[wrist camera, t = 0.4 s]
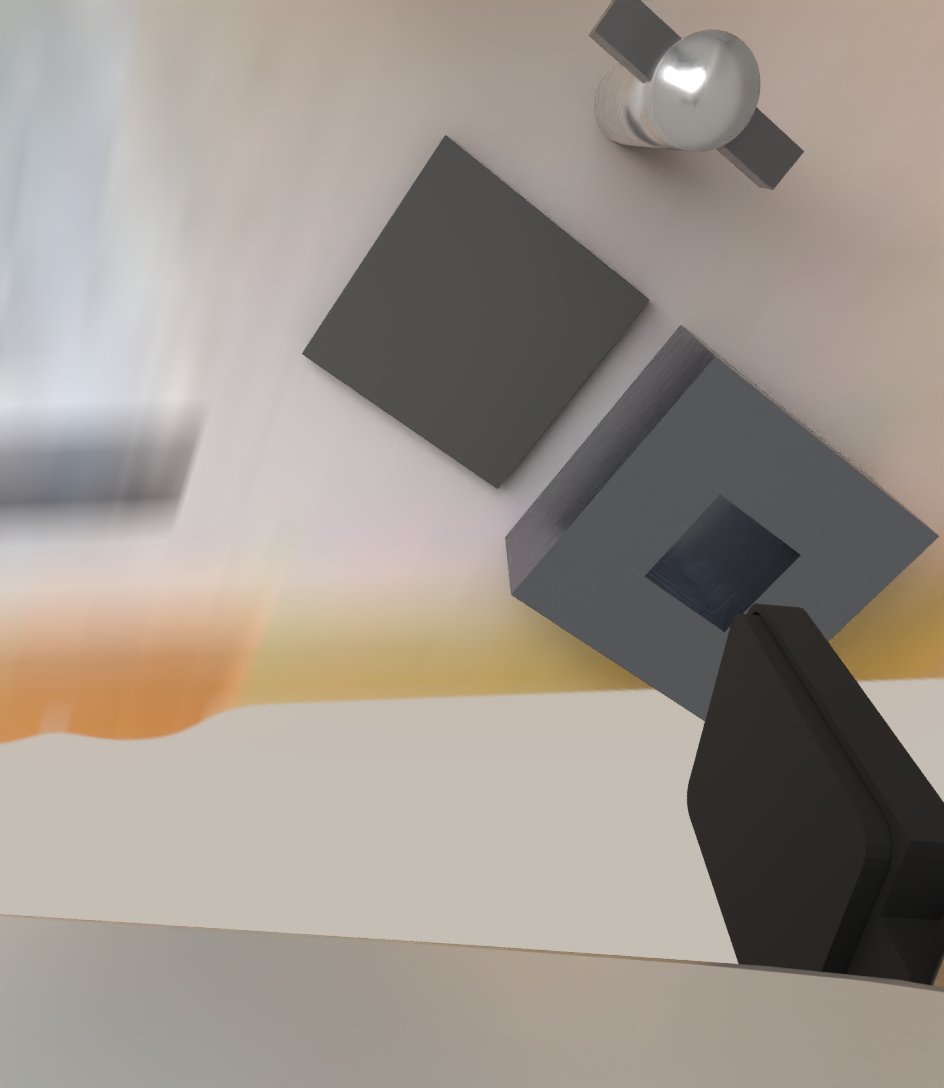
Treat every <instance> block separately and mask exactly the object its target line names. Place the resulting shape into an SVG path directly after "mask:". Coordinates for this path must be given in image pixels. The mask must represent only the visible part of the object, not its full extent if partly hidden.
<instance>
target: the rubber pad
mask: <svg viewBox="0 0 944 1088" xmlns="http://www.w3.org/2000/svg"><path fill="white" fill-rule="evenodd" d="M648 301H649V299H647V298H646V297H645V296H644V295H643V294H642V293H640V292H639V291H638V290H637V289H635V288H634V287H633V286H632V285H630V284H629V283H628V282H627V281H626V280H624V279H623V278H622V277H621V276H619V275H618V274H617V273H616V272H614V271H613V270H612V269H611V268H609V267H608V266H607V265H606V264H604V263H603V262H602V261H601V260H600V259H598V258H597V257H596V256H595V255H593V254H592V253H591V252H590V251H588V250H587V249H586V248H585V247H583V246H582V245H581V244H580V243H578V242H577V241H576V240H575V239H573V238H572V237H571V236H570V235H569V234H567V233H566V232H565V231H564V230H562V229H561V228H560V227H559V226H557V225H556V224H555V223H554V222H552V221H551V220H550V219H549V218H547V217H546V216H545V215H544V214H542V213H541V212H540V211H539V210H538V209H536V208H535V207H534V206H533V205H531V204H530V203H529V202H528V201H526V200H525V199H524V198H523V197H521V196H520V195H519V194H518V193H516V192H515V191H514V190H513V189H512V188H510V187H509V186H508V185H507V184H505V183H504V182H503V181H502V180H500V179H499V178H498V177H497V176H495V175H494V174H493V173H492V172H490V171H489V170H488V169H487V168H485V167H484V166H483V165H482V164H481V163H479V162H478V161H477V160H476V159H474V158H473V157H472V156H471V155H469V154H468V153H467V152H466V151H464V150H463V149H462V148H461V147H459V146H458V145H457V144H456V143H454V142H453V141H452V140H451V139H450V138H448V137H447V136H446V135H445V136H444V138H443V139H442V141H441V142H440V144H439V145H438V147H437V149H436V150H435V152H434V153H433V155H432V156H431V158H430V159H429V161H428V162H427V164H426V165H425V167H424V168H423V170H422V171H421V173H420V174H419V176H418V177H417V179H416V181H415V182H414V184H413V185H412V187H411V188H410V190H409V191H408V193H407V194H406V196H405V197H404V199H403V200H402V202H401V203H400V205H399V206H398V208H397V209H396V211H395V213H394V214H393V216H392V217H391V219H390V220H389V222H388V223H387V225H386V226H385V228H384V229H383V231H382V232H381V234H380V235H379V237H378V238H377V240H376V241H375V243H374V245H373V246H372V248H371V249H370V251H369V252H368V254H367V255H366V257H365V258H364V260H363V261H362V263H361V264H360V266H359V267H358V269H357V270H356V272H355V274H354V275H353V277H352V278H351V280H350V281H349V283H348V284H347V286H346V287H345V289H344V290H343V292H342V293H341V295H340V296H339V298H338V299H337V301H336V302H335V304H334V306H333V307H332V309H331V310H330V312H329V313H328V315H327V316H326V318H325V319H324V321H323V322H322V324H321V325H320V327H319V328H318V330H317V331H316V333H315V334H314V336H313V338H312V339H311V341H310V342H309V344H308V345H307V347H306V348H305V350H304V351H303V353H302V354H303V355H304V356H306V357H307V358H309V359H310V360H311V361H313V362H314V363H316V364H317V365H319V366H320V367H322V368H323V369H325V370H326V371H327V372H329V373H330V374H332V375H333V376H335V377H336V378H338V379H339V380H340V381H342V382H343V383H345V384H346V385H348V386H349V387H351V388H352V389H354V390H355V391H356V392H358V393H359V394H361V395H362V396H364V397H365V398H367V399H368V400H369V401H371V402H372V403H374V404H375V405H377V406H378V407H380V408H381V409H383V410H384V411H385V412H387V413H388V414H390V415H391V416H393V417H394V418H396V419H397V420H398V421H400V422H401V423H403V424H404V425H406V426H407V427H409V428H410V429H411V430H413V431H414V432H416V433H417V434H419V435H420V436H422V437H423V438H425V439H426V440H427V441H429V442H430V443H432V444H433V445H435V446H436V447H438V448H439V449H440V450H442V451H443V452H445V453H446V454H448V455H449V456H451V457H452V458H454V459H455V460H456V461H458V462H459V463H461V464H462V465H464V466H465V467H467V468H468V469H469V470H471V471H472V472H474V473H475V474H477V475H478V476H480V477H481V478H482V479H484V480H485V481H487V482H488V483H490V484H491V485H493V486H494V487H496V488H497V489H498V488H499V487H500V485H501V484H502V483H503V482H504V480H505V479H506V478H507V477H508V475H509V474H510V473H511V472H512V471H513V469H514V468H515V467H516V466H517V464H518V463H519V462H520V461H521V459H522V458H523V457H524V456H525V454H526V453H527V452H528V451H529V449H530V448H531V447H532V446H533V444H534V443H535V442H536V441H537V439H538V438H539V437H540V436H541V434H542V433H543V432H544V431H545V429H546V428H547V427H548V426H549V424H550V423H551V422H552V421H553V419H554V418H555V417H556V416H557V415H558V413H559V412H560V411H561V410H562V408H563V407H564V406H565V405H566V403H567V402H568V401H569V400H570V398H571V397H572V396H573V395H574V393H575V392H576V391H577V390H578V388H579V387H580V386H581V385H582V383H583V382H584V381H585V380H586V378H587V377H588V376H589V375H590V373H591V372H592V371H593V370H594V368H595V367H596V366H597V365H598V363H599V362H600V361H601V360H602V359H603V357H604V356H605V355H606V354H607V352H608V351H609V350H610V349H611V347H612V346H613V345H614V344H615V342H616V341H617V340H618V339H619V337H620V336H621V335H622V334H623V332H624V331H625V330H626V329H627V327H628V326H629V325H630V324H631V322H632V321H633V320H634V319H635V317H636V316H637V315H638V314H639V312H640V311H641V310H642V309H643V307H644V306H645V305H646V304H647V303H648Z"/></svg>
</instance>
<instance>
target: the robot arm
mask: <svg viewBox="0 0 944 1088" xmlns="http://www.w3.org/2000/svg"><path fill="white" fill-rule="evenodd" d="M687 806H688V812H689V816H690V819H691V822H692V825H693V828H694V831H695V834H696V837H697V840H698V843H699V846H700V849H701V852H702V855H703V858H704V861H705V864H706V867H707V870H708V873H709V876H710V879H711V882H712V885H713V888H714V891H715V894H716V897H717V900H718V903H719V906H720V909H721V912H722V915H723V918H724V921H725V924H726V927H727V930H728V933H729V936H730V939H731V942H732V945H733V948H734V951H735V954H736V957H737V960H738V963H739V964H730V963H715V962H701V961H688V960H674V959H660V958H645V957H631V956H617V955H603V954H589V953H574V952H561V951H546V950H533V949H518V948H505V947H489V946H475V945H459V944H445V943H429V942H414V941H399V940H384V939H368V938H354V937H353V938H352V937H337V936H323V935H308V934H293V933H277V932H262V931H247V930H231V929H217V928H201V927H186V926H169V925H155V924H140V923H125V922H124V923H123V922H110V921H93V920H78V919H63V918H47V917H33V916H17V915H2V914H0V1088H944V802H943V801H942V800H941V798H940V797H939V795H938V794H937V793H936V791H935V790H934V788H933V787H932V786H931V784H930V783H929V782H928V780H927V779H926V777H925V776H924V774H923V773H922V772H921V770H920V769H919V767H918V766H917V765H916V763H915V762H914V761H913V759H912V758H911V757H910V755H909V754H908V752H907V751H906V749H905V748H904V747H903V745H902V744H901V743H900V741H899V740H898V739H897V737H896V736H895V734H894V733H893V731H892V730H891V729H890V727H889V726H888V725H887V723H886V722H885V721H884V719H883V718H882V716H881V715H880V713H879V712H878V711H877V709H876V708H875V706H874V705H873V704H872V702H871V701H870V699H869V698H868V697H867V695H866V694H865V693H864V691H863V690H862V689H861V687H860V686H859V684H858V683H857V681H856V680H855V679H854V677H853V676H852V674H851V673H850V672H849V670H848V669H847V668H846V666H845V665H844V663H843V662H842V661H841V659H840V658H839V656H838V655H837V654H836V652H835V651H834V650H833V648H832V647H831V645H830V644H829V643H828V641H827V640H826V638H825V637H824V636H823V634H822V633H821V631H820V630H819V629H818V627H817V626H816V625H815V623H814V622H813V620H812V619H811V618H810V616H809V615H808V613H807V612H806V611H805V610H804V609H803V608H801V607H790V606H779V605H768V604H756V603H755V604H754V605H752V606H751V607H750V609H749V610H748V612H747V614H739V613H738V614H737V615H735V617H734V618H733V620H732V623H731V626H730V630H729V633H728V637H727V641H726V645H725V648H724V652H723V656H722V660H721V663H720V667H719V671H718V675H717V678H716V682H715V686H714V690H713V694H712V697H711V701H710V705H709V709H708V712H707V716H706V720H705V724H704V727H703V731H702V735H701V739H700V742H699V747H698V750H697V754H696V758H695V761H694V765H693V769H692V773H691V776H690V780H689V784H688V791H687Z"/></svg>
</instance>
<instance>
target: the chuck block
mask: <svg viewBox="0 0 944 1088" xmlns="http://www.w3.org/2000/svg"><path fill="white" fill-rule="evenodd" d="M938 537H939V536H938V535H937V534H936V533H935V532H934V531H932V530H931V529H930V528H929V527H928V526H927V525H925V524H924V523H923V522H922V521H921V520H920V519H918V518H917V517H916V516H915V515H914V514H913V513H911V512H910V511H909V510H908V509H907V508H905V507H904V506H903V505H902V504H901V503H900V502H898V501H897V500H896V499H895V498H894V497H893V496H891V495H890V494H889V493H888V492H887V491H885V490H884V489H883V488H882V487H881V486H880V485H878V484H877V483H876V482H875V481H873V480H872V479H871V478H870V477H868V476H867V475H866V474H865V473H864V472H862V471H861V470H860V469H859V468H857V467H856V466H855V465H854V464H852V463H851V462H850V461H849V460H847V459H846V458H845V457H844V456H842V455H841V454H840V453H839V452H837V451H836V450H835V449H834V448H833V447H831V446H830V445H829V444H828V443H826V442H825V441H824V440H823V439H821V438H820V437H819V436H818V435H816V434H815V433H814V432H813V431H811V430H810V429H809V428H808V427H807V426H805V425H804V424H803V423H802V422H800V421H799V420H798V419H797V418H795V417H794V416H793V415H792V414H790V413H789V412H788V411H787V410H785V409H784V408H783V407H782V406H780V405H779V404H778V403H777V402H776V401H774V400H773V399H772V398H771V397H769V396H768V395H767V394H766V393H764V392H763V391H762V390H761V389H759V388H758V387H757V386H756V385H754V384H753V383H752V382H751V381H749V380H748V379H747V378H746V377H745V376H743V375H742V374H741V373H740V372H738V371H737V370H736V369H735V368H733V367H732V366H731V365H730V364H728V363H727V362H726V361H725V360H723V359H722V358H721V357H720V356H719V355H717V354H716V353H715V352H714V351H712V350H711V349H710V348H709V347H707V346H706V345H705V344H704V343H702V342H701V341H700V340H699V339H697V338H696V337H695V336H694V335H692V334H691V333H690V332H689V331H688V330H686V329H685V328H684V327H683V326H680V327H679V328H678V330H677V331H676V332H675V333H674V334H673V336H672V337H671V338H670V339H669V340H668V342H667V343H666V344H665V345H664V346H663V348H662V349H661V350H660V351H659V352H658V354H657V355H656V356H655V357H654V358H653V360H652V361H651V362H650V363H649V365H648V366H647V367H646V368H645V369H644V371H643V372H642V373H641V374H640V375H639V377H638V378H637V379H636V380H635V381H634V383H633V384H632V385H631V386H630V387H629V389H628V390H627V391H626V392H625V393H624V395H623V396H622V397H621V398H620V400H619V401H618V402H617V403H616V404H615V406H614V407H613V408H612V409H611V410H610V412H609V413H608V414H607V415H606V416H605V418H604V419H603V420H602V421H601V422H600V424H599V425H598V426H597V427H596V428H595V430H594V431H593V432H592V433H591V435H590V436H589V437H588V438H587V439H586V441H585V442H584V443H583V444H582V445H581V447H580V448H579V449H578V450H577V451H576V453H575V454H574V455H573V456H572V457H571V459H570V460H569V461H568V462H567V463H566V465H565V466H564V467H563V468H562V470H561V471H560V472H559V473H558V474H557V476H556V477H555V478H554V479H553V480H552V482H551V483H550V484H549V485H548V486H547V488H546V489H545V490H544V491H543V492H542V494H541V495H540V496H539V497H538V499H537V500H536V501H535V502H534V503H533V505H532V506H531V507H530V508H529V509H528V511H527V512H526V513H525V514H524V515H523V517H522V518H521V519H520V520H519V521H518V523H517V524H516V525H515V526H514V527H513V529H512V530H511V531H510V532H509V534H508V535H507V536H506V537H505V539H506V549H507V559H508V569H509V578H510V588H511V595H512V596H514V597H515V598H517V599H519V600H520V601H522V602H523V603H525V604H526V605H528V606H529V607H531V608H532V609H534V610H535V611H537V612H538V613H540V614H541V615H543V616H545V617H546V618H548V619H549V620H551V621H552V622H554V623H555V624H557V625H558V626H560V627H561V628H563V629H564V630H566V631H567V632H569V633H571V634H572V635H574V636H575V637H577V638H578V639H580V640H581V641H583V642H584V643H586V644H587V645H589V646H590V647H592V648H593V649H595V650H597V651H598V652H600V653H601V654H603V655H604V656H606V657H607V658H609V659H610V660H612V661H613V662H615V663H616V664H618V665H619V666H621V667H623V668H624V669H626V670H627V671H629V672H630V673H632V674H633V675H635V676H636V677H638V678H639V679H641V680H642V681H644V682H645V683H647V684H649V685H650V686H652V687H653V688H655V689H656V690H658V691H659V692H661V693H662V694H664V695H665V696H667V697H668V698H670V699H671V700H673V701H675V702H676V703H678V704H679V705H681V706H682V707H684V708H685V709H687V710H688V711H690V712H691V713H693V714H695V715H696V716H698V717H699V718H701V719H702V720H704V721H705V720H706V716H707V712H708V709H709V705H710V701H711V697H712V694H713V690H714V686H715V682H716V678H717V675H718V671H719V667H720V663H721V660H722V656H723V652H724V648H725V645H726V641H727V637H728V633H729V630H730V626H731V623H732V620H733V618H734V617H735V615H737V614H738V613H739V614H747V612H748V610H749V609H750V607H751V606H752V605H754V604H755V603H756V604H768V605H779V606H790V607H801V608H803V609H804V610H805V611H806V612H807V613H808V615H809V616H810V618H811V619H812V620H813V622H814V623H815V625H816V626H817V627H818V629H819V630H820V631H821V633H822V634H823V636H824V637H825V638H826V640H827V641H829V640H830V639H831V638H832V637H833V636H834V635H835V634H836V633H837V632H838V631H839V630H841V629H842V628H843V627H844V626H845V625H846V624H847V623H848V622H849V621H850V620H851V619H852V618H853V617H854V616H855V615H856V614H857V613H859V612H860V611H861V610H862V609H863V608H864V607H865V606H866V605H867V604H868V603H869V602H870V601H871V600H872V599H873V598H874V597H875V596H877V595H878V594H879V593H880V592H881V591H882V590H883V589H884V588H885V587H886V586H887V585H888V584H889V583H890V582H891V581H892V580H893V579H895V578H896V577H897V576H898V575H899V574H900V573H901V572H902V571H903V570H904V569H905V568H906V567H907V566H908V565H909V564H910V563H911V562H913V561H914V560H915V559H916V558H917V557H918V556H919V555H920V554H921V553H922V552H923V551H924V550H925V549H926V548H927V547H928V546H929V545H930V544H932V543H933V542H934V541H935V540H936V539H937V538H938Z"/></svg>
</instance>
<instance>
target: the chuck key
mask: <svg viewBox="0 0 944 1088" xmlns="http://www.w3.org/2000/svg"><path fill="white" fill-rule="evenodd" d="M589 36H590V37H591V38H592V39H593V40H594V41H596V42H597V43H598V44H599V45H600V46H601V47H602V48H603V49H605V50H606V51H607V52H608V53H609V54H610V55H611V56H612V57H614V58H615V59H616V60H617V61H618V62H619V63H620V64H621V65H619V66H617V67H615V68H614V69H613V70H611V71H610V72H609V73H608V74H607V75H606V77H605V78H604V79H603V81H602V82H601V84H600V86H599V88H598V91H597V94H596V99H595V115H596V119H597V122H598V124H599V126H600V128H601V130H602V131H603V133H604V134H605V135H606V136H607V137H608V138H610V139H611V140H612V141H614V142H616V143H619V144H622V145H631V146H643V147H655V148H667V149H679V150H691V151H708V150H712V149H717V150H718V151H719V152H720V153H721V154H722V155H724V156H725V157H726V158H727V159H728V160H729V161H730V162H731V163H733V164H734V165H735V166H736V167H737V168H738V169H739V170H740V171H742V172H743V173H744V174H745V175H746V176H747V177H748V178H749V179H751V180H752V181H753V182H754V183H755V184H756V185H757V186H758V187H760V188H765V189H771V190H773V189H774V188H775V187H776V185H777V184H778V183H779V182H780V180H781V179H782V178H783V177H784V176H785V174H786V173H787V172H788V171H789V169H790V168H791V167H792V166H793V165H794V163H795V162H796V161H797V160H798V158H799V157H800V156H801V155H802V154H803V152H804V151H803V150H802V149H801V148H800V147H799V146H798V145H797V144H795V143H794V142H793V141H792V140H791V139H790V138H789V137H788V136H787V135H786V134H785V133H784V132H782V131H781V130H780V129H779V128H778V127H777V126H776V125H775V124H774V123H773V122H772V121H771V120H769V119H768V118H767V117H766V116H765V115H764V114H763V113H762V112H761V111H760V110H759V109H758V108H756V106H757V103H758V99H759V93H760V74H759V69H758V65H757V62H756V60H755V57H754V55H753V53H752V52H751V50H750V49H749V48H748V46H747V45H746V44H745V43H744V42H743V41H742V40H740V39H739V38H738V37H736V36H734V35H732V34H730V33H728V32H724V31H720V30H704V31H700V32H696V33H694V34H691V35H689V36H687V37H684V38H681V37H679V36H678V35H677V34H676V33H675V32H674V31H673V30H672V29H671V28H670V27H669V26H668V25H666V24H665V23H664V22H663V21H662V20H661V19H660V18H659V17H658V16H657V15H656V14H655V13H653V12H652V11H651V10H650V9H649V8H648V7H647V6H646V5H645V4H644V3H643V2H641V1H640V0H612V2H611V3H610V5H609V6H608V8H607V9H606V11H605V12H604V14H603V15H602V16H601V18H600V19H599V21H598V22H597V24H596V25H595V27H594V28H593V30H592V31H591V32H590V34H589Z"/></svg>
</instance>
